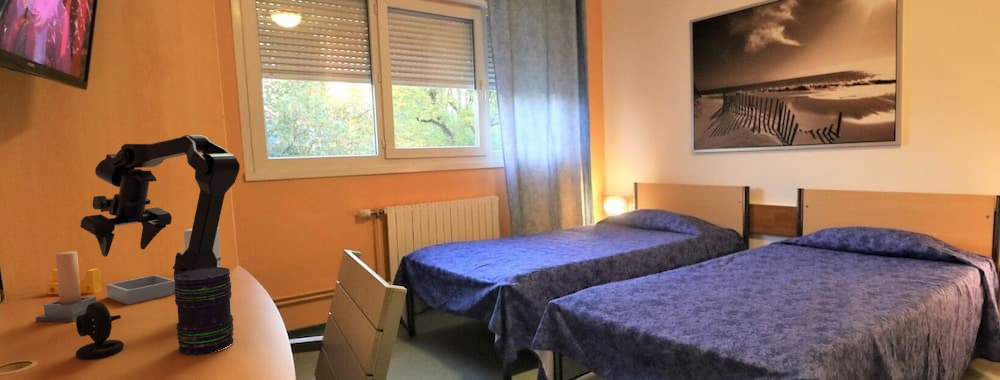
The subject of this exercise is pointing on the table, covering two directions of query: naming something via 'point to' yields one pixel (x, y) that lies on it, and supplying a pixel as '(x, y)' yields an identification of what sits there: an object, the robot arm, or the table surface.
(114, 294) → the bin
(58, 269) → the tan rounded tapered piece
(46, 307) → the stud base
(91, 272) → the pipe clamp
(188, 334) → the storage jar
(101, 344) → the webcam
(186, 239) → the skincare box
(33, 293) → the table surface
